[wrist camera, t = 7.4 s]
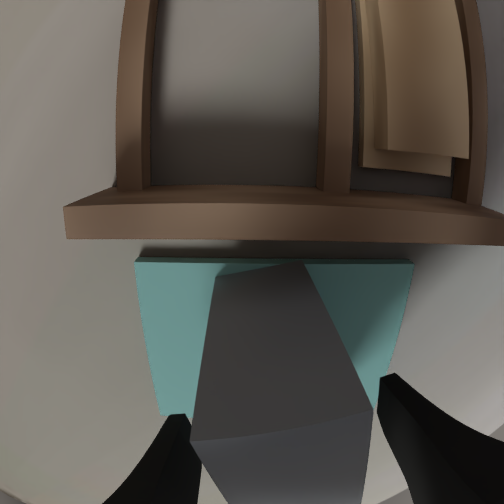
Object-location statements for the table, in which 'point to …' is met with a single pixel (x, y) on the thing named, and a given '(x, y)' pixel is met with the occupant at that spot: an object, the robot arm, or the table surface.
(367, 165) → the lower offcut board
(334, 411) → the gray rectangular block
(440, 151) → the upper offcut board
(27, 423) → the table surface
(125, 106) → the walnut rack
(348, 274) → the teal mat
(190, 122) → the table surface
